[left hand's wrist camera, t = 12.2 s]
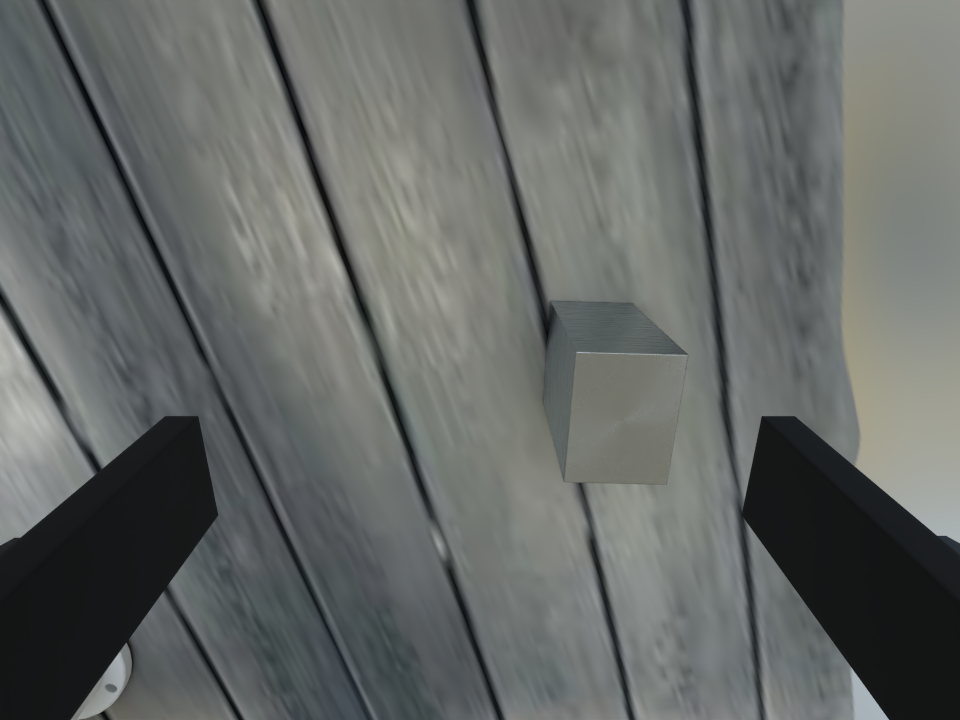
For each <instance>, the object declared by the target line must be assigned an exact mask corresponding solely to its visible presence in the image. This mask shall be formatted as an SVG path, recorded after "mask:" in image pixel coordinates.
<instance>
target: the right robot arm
mask: <svg viewBox="0 0 960 720" xmlns="http://www.w3.org/2000/svg"><path fill="white" fill-rule="evenodd" d="M131 669H132V659H131V654H130V649H129V647H128V645H127V643H126V644H125V645H124V647H123V648H122V649H121V651H120V652H119V654H118V655H117V656H116V658H115V659H114V660H113V662H112V663H111V665H110V666H109V667H108V669H107V670H106V672H105V673H104V674H103V676H102V677H101V678H100V680H99V681H98V683H97V684H96V685H95V687H94V688H93V690H92V691H91V692H90V694H89V695H88V697H87V698H86V699H85V701H84V702H83V703H82V705H81V706H80V708H79V709H78V710H77V712H76V713H75V715H74V716H73V717H72V719H71V720H80V719H85V718H89V717H91V716H94V715H96V714H99V713H101V712H102V711H104V710H105V709H107V708H108V707H110V706H111V705H112V704H113V703H114V702H115V701H116V700H117V698H118V697H119V696H120V694H121V693H122V691H123V690H124V688H125V687H126V685H127V683H128V681H129V678H130V675H131Z"/></svg>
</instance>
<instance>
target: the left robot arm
mask: <svg viewBox="0 0 960 720" xmlns="http://www.w3.org/2000/svg"><path fill="white" fill-rule="evenodd" d="M217 516H218V512H217V507H216V502H215V497H214V492H213V487H212V482H211V477H210V472H209V468H208V463H207V458H206V453H205V448H204V443H203V438H202V433H201V428H200V423H199V418H198V416H165V417H164V418H163V419H161V420H160V421H159V422H158V423H157V424H155V425H154V426H153V427H152V428H151V429H150V430H148V431H147V432H146V433H145V434H144V435H142V436H141V437H140V438H139V439H138V440H136V441H135V442H134V443H133V444H132V445H131V446H129V447H128V448H127V449H126V450H125V451H123V452H122V453H121V454H120V455H119V456H117V457H116V458H115V459H114V460H113V461H111V462H110V463H109V464H108V465H107V466H106V467H104V468H103V469H102V470H101V471H100V472H98V473H97V474H96V475H95V476H94V477H92V478H91V479H90V480H89V481H88V482H86V483H85V484H84V485H83V486H82V487H81V488H79V489H78V490H77V491H76V492H75V493H73V494H72V495H71V496H70V497H69V498H67V499H66V500H65V501H64V502H63V503H62V504H60V505H59V506H58V507H57V508H56V509H54V510H53V511H52V512H51V513H50V514H48V515H47V516H46V517H45V518H44V519H42V520H41V521H40V522H39V523H38V524H37V525H35V526H34V527H33V528H32V529H31V530H29V531H28V532H27V533H26V534H25V535H23V536H22V537H21V538H13V539H12V540H10V541H8V542H6V543H4V544H3V545H1V546H0V720H71V719H72V717H73V716H74V715H75V713H76V712H77V710H78V709H79V708H80V706H81V705H82V703H83V702H84V701H85V699H86V698H87V697H88V695H89V694H90V692H91V691H92V690H93V688H94V687H95V685H96V684H97V683H98V681H99V680H100V678H101V677H102V676H103V674H104V673H105V672H106V670H107V669H108V667H109V666H110V665H111V663H112V662H113V660H114V659H115V658H116V656H117V655H118V654H119V652H120V651H121V649H122V648H123V647H124V645H125V644H126V642H127V641H128V640H129V638H130V637H131V635H132V634H133V633H134V631H135V630H136V629H137V627H138V626H139V624H140V623H141V622H142V620H143V619H144V617H145V616H146V615H147V613H148V612H149V610H150V609H151V608H152V606H153V605H154V604H155V602H156V601H157V599H158V598H159V597H160V595H161V594H162V592H163V591H164V590H165V588H166V587H167V585H168V584H169V583H170V581H171V580H172V579H173V577H174V576H175V574H176V573H177V572H178V570H179V569H180V567H181V566H182V565H183V563H184V562H185V561H186V559H187V558H188V556H189V555H190V554H191V552H192V551H193V549H194V548H195V547H196V545H197V544H198V542H199V541H200V540H201V538H202V537H203V536H204V534H205V533H206V531H207V530H208V529H209V527H210V526H211V524H212V523H213V522H214V520H215V519H216V517H217ZM742 516H743V517H744V519H745V520H746V522H747V523H748V524H749V526H750V527H751V529H752V530H753V531H754V533H755V534H756V536H757V537H758V538H759V540H760V541H761V542H762V544H763V545H764V547H765V548H766V549H767V551H768V552H769V554H770V555H771V556H772V558H773V559H774V561H775V562H776V563H777V565H778V566H779V567H780V569H781V570H782V572H783V573H784V574H785V576H786V577H787V579H788V580H789V581H790V583H791V584H792V585H793V587H794V588H795V590H796V591H797V592H798V594H799V595H800V597H801V598H802V599H803V601H804V602H805V604H806V605H807V606H808V608H809V609H810V610H811V612H812V613H813V615H814V616H815V617H816V619H817V620H818V622H819V623H820V624H821V626H822V627H823V629H824V630H825V631H826V633H827V634H828V635H829V637H830V638H831V640H832V641H833V642H834V644H835V645H836V647H837V648H838V649H839V651H840V652H841V654H842V655H843V656H844V658H845V659H846V660H847V662H848V663H849V665H850V666H851V667H852V669H853V670H854V672H855V673H856V674H857V676H858V677H859V678H860V680H861V681H862V683H863V684H864V685H865V687H866V688H867V690H868V691H869V692H870V694H871V695H872V697H873V698H874V699H875V701H876V702H877V703H878V705H879V706H880V708H881V709H882V710H883V712H884V713H885V715H886V716H887V717H888V719H889V720H960V543H958V542H956V541H954V540H952V539H951V538H949V537H947V536H937V535H935V534H934V533H933V532H932V531H931V530H929V529H928V528H927V527H926V526H925V525H923V524H922V523H921V522H920V521H919V520H918V519H916V518H915V517H914V516H913V515H912V514H910V513H909V512H908V511H907V510H906V509H904V508H903V507H902V506H901V505H900V504H898V503H897V502H896V501H895V500H894V499H893V498H891V497H890V496H889V495H888V494H887V493H885V492H884V491H883V490H882V489H881V488H879V487H878V486H877V485H876V484H875V483H874V482H872V481H871V480H870V479H869V478H867V477H866V476H865V475H864V474H863V473H862V472H860V471H859V470H858V469H857V468H856V467H854V466H853V465H852V464H851V463H850V462H849V461H847V460H846V459H845V458H844V457H843V456H841V455H840V454H839V453H838V452H837V451H835V450H834V449H833V448H832V447H831V446H829V445H828V444H827V443H826V442H825V441H824V440H822V439H821V438H820V437H819V436H818V435H816V434H815V433H814V432H813V431H812V430H810V429H809V428H808V427H807V426H806V425H805V424H803V423H802V422H801V421H800V420H799V419H797V418H796V417H795V416H762V418H761V423H760V428H759V433H758V438H757V443H756V448H755V453H754V458H753V463H752V468H751V472H750V477H749V482H748V487H747V492H746V497H745V502H744V507H743V512H742Z"/></svg>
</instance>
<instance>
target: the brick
mask: <svg viewBox="0 0 960 720" xmlns="http://www.w3.org/2000/svg"><path fill="white" fill-rule="evenodd" d="M687 360H688V354H687V353H686V352H685V351H684V350H682V349H681V348H680V347H679V346H678V345H677V344H676V343H675V342H674V341H673V340H672V339H671V338H670V337H668V336H667V335H666V334H665V333H664V332H663V331H662V330H661V329H660V328H659V327H658V326H657V325H655V324H654V323H653V322H652V321H651V320H650V319H649V318H648V317H647V316H646V315H645V314H644V313H642V312H641V311H640V310H639V309H638V308H637V307H636V306H635V305H634V304H633V303H605V302H569V301H550V310H549V323H548V337H547V350H546V364H545V378H544V391H543V405H544V408H545V412H546V416H547V420H548V424H549V427H550V431H551V435H552V439H553V443H554V446H555V450H556V454H557V458H558V462H559V465H560V469H561V473H562V477H563V481H564V482H579V483H620V484H661V485H666V484H667V480H668V474H669V468H670V462H671V456H672V450H673V444H674V438H675V432H676V426H677V420H678V414H679V408H680V402H681V396H682V390H683V384H684V378H685V372H686V366H687Z"/></svg>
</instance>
